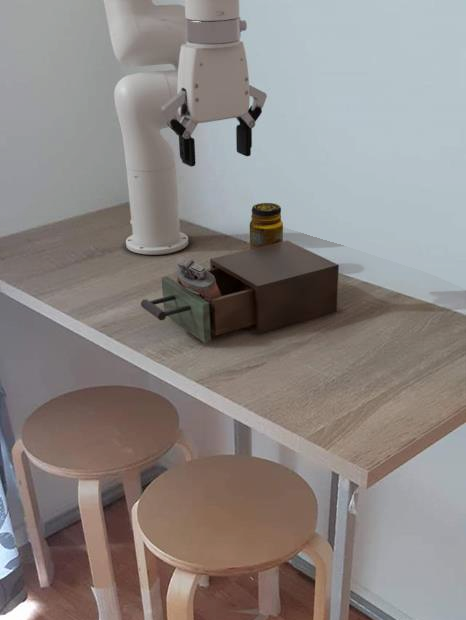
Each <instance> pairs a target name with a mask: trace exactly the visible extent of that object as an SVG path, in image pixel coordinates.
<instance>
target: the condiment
mask: <svg viewBox="0 0 466 620" xmlns="http://www.w3.org/2000/svg"><path fill="white" fill-rule="evenodd" d="M283 241H284V222H283V221H282V208H281V206H280V205H279V204H277V203H272V202H261V203H256V204H254V205H253V206H252V208H251V220H250V222H249V250H250V249H254V248H258V247H262V246H266V245H270V244H275V243H279V242H283Z"/></svg>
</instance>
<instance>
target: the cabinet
mask: <svg viewBox="0 0 466 620" xmlns="http://www.w3.org/2000/svg"><path fill="white" fill-rule="evenodd" d="M209 263H210V266H209V267H210V269H211V268H215V267H217V268H219V269H221V270H223V271H224V272H226V273H228V274H229V275H231V276H233V277H235V278H236V279H238V280H240V281H242V282H243V283H245V284H247V285H249V286H250V287H252V288H254V289H255V311H256V324H255V325H251V326H248V327H247V328H248V329H249V330H251V331H252V332H254V333H255V334H257V335H262V334H265V333H268V332H272V331H276V330H279V329H282V328H285V327H289V326H293V325H296V324H299V323H303V322H307V321H309V320H313V319H317V318H320V317H323V316H326V315H329V314H334V313H336V312H337V309H338V292H339V291H338V288H339V270H340V269H339V267H340V265H339V263H335V262H334V261H332V260H330V259H327V258H325V257H323V256H321V255H319V254H317V253H315V252H312V251H311V250H308V249H306V248H304V247H303V246H300V245H299V244H296V243H294V242H292V241H290V240H283V242H279V243H275V244H270V245H266V246H262V247H258V248H254V249H250V248H249V249H246V250H242V251H237V252H234V253H228V254H226V255H220V256H216V257H213V258H210V259H209Z"/></svg>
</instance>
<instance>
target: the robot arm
mask: <svg viewBox="0 0 466 620" xmlns="http://www.w3.org/2000/svg"><path fill="white" fill-rule="evenodd" d="M103 5H104V11H105V15H106V21H107V26H108V31H109V32H108V33H109V38H110V43H111V46H112V50H113V54H114V56H115V58H116V60H117V62H118V63H120V64H121V65H123V66H126V67H149V66H158V65H159V66H160V65H161V66H162V65H172V66H173V68H174V69H170V70H169V69H167V70H154V71H147V72H146V71H144V72H135V73H132V74H128V75H125V76H124V77H122V78H121V79H120V80H118V82H117V83H116V85H115V87H114V90H113V91H114V92H113V96H114V106H115V111H116V115H117V118H118V122H119V126H120V130H121V134H122V136H121V137H122V143H123V150H124V158H125V159H124V161H125V167H126V168H125V169H126V179H127V188H128V199H129V209H130V210H129V211H130V221H129V222H130V225H131V231H132V234H131V235H130V236H128V237H127V238H126V239H125V247H126V249H127V250H129V251H130V252H132V253H136V254H139V255H147V256H153V255H154V256H158V255H167V254H172V253H177V252H179V251H181V250H183V249H185V248H186V247H187V246H188V245H189V236H188V235H187V234H186V233H184V232H182V231H181V226H180V209H179V194H178V193H179V192H178V177H177V164H176V163H177V162H176V154H175V150H174V148H173V147H172V145H171V144H170V142H169V141H168V139H166V138H165V137H164V136H163V135H162V132H161V130H162V129H167V128H170V129H171V131H173V132H174V133H175V135H176V136H178V145H179V146H178V151H179V158H180V160H181V163H182V164H184V165H186V166H188V167H191V168H192V167H195V166H196V163H197V161H196V143H195V142H196V141H195V138H194V137H192V135H193V133H194V131H195V130H196V128H197V127H198V124H203V123H210V122H211V123H212V122H217V121H224V120H230V119H236V120H237V122H238V123H239V124H236V126H235V131H236V132H235V134H236V135H235V136H236V137H235V139H236V141H235V142H236V143H235V145H236V153H237V154H240V155H242V156H245V157H250V156H251V155H252V150H251V149H252V148H253V147H252V146H253V129H254V128H255V127H256V122H257V121H258V119H259V118H260V116H261V114H262V112H263V110H262V108H264V105H265V102H266V100H267V98H268V96H267V93H266V92H265V91H262V90H260V89H259V88H257V87H255V86H252V85H250V77H249V68H248V67H249V65H248V61H247V55H246V50H245V45H244V42H243V41H242V40H241V32H245V31H246V30H247V28H248V26H247V22H246V20H243V19H242V20H241V16H240V0H184V5H181V4H158V5H157V4H155V3H154V2H153V0H103ZM250 97H252V99H253V100H252V105H250V101H251V100H250V99H251V98H250Z"/></svg>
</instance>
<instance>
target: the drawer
mask: <svg viewBox="0 0 466 620" xmlns="http://www.w3.org/2000/svg"><path fill="white" fill-rule="evenodd" d="M206 271H208V272H210V273H211V274H212V275H213V276H214V277H215V279H216V284H217V287H218V289H219V291H220V293H221V295H222V297H218V298H214V299H212V311H213V319H210V312H209V303H208V302H207V301H205V300H204V299H202V298H201V297H199V296H198V295H196V294H194V293H193V292H191V291H190V290H188V289H187V288H185V287H184V286H183V285H182V283H181V281H180V280H179V279H178V278H177V277H176V280H177V281H176V280H174V279H173V278H172V277H170V276H168V275H167V276H163V277H160V278H161V289H162V291H161V292H162V297H161V298H156V299H152V300H149V299H146V298H145V299H142V300H141V302H140V306H141V308H142V309H144V310H146V311H147V312H148V313H149V314H151V315H152V316H153V317H155V318H156V319H157V320H159V321H164V320H166V318H167V317H168V318H169V319H171V320H172V321H173V322H175V323H176V324H178V325H179V326H180V327H182V328H183V329H184V330H186V331H187V332H188V333H190V334H191V335H193V336H194V337H196V338H197V339H198V340H200V341H201V342H202V343H204V344H205V343H208V342H212V338H211V337H212V335H211V333H212V334H213V335H215V336H219V335H223V334H226V333H230V332H234V331H236V330H240V329H245V328H248V326H251V325H255V324H256V311H255V289H254V288H252V287H250V286H249V285H247V284H245V283H243V282H242V281H240V280H238V279H236V278H235V277H233V276H231V275H229V274H228V273H226V272H224V271H223V270H221V269H219V268H217V267H215V268H211V267H210V268H208V269H207V268H206ZM162 303H163V310H162V309H161V308H160V307H158V306H157V305H159V304H162Z"/></svg>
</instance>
